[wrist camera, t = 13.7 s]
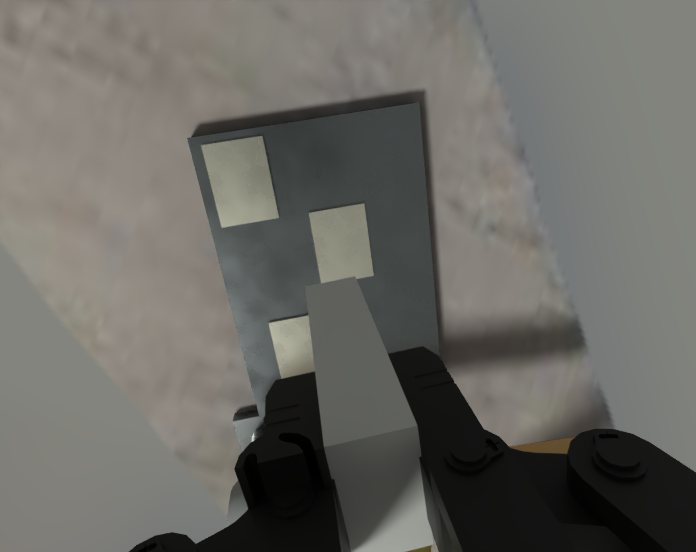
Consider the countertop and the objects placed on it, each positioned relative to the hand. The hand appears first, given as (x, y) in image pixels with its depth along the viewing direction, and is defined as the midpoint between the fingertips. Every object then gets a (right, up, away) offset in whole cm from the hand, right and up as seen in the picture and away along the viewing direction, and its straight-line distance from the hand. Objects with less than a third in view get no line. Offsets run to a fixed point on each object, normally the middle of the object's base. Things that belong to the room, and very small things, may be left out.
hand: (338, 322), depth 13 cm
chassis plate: (-1, +2, +18) cm, 18 cm away
